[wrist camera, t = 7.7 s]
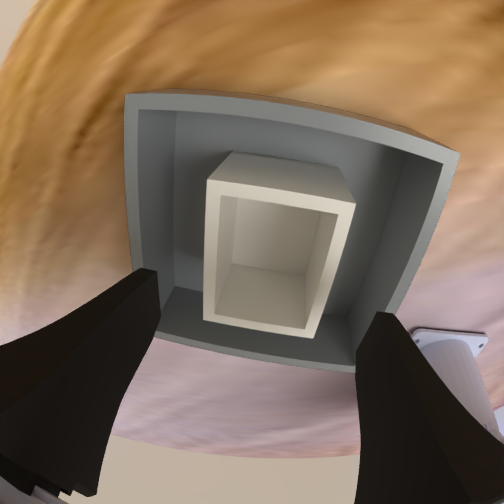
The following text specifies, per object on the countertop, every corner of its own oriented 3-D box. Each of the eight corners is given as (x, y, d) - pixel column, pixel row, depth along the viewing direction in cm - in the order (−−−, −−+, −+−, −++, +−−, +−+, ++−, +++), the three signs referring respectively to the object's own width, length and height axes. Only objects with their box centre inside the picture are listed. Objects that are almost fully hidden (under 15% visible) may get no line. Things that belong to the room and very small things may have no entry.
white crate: (311, 279, 17) (313, 338, 13) (224, 264, 17) (203, 319, 13) (339, 167, 13) (356, 203, 9) (233, 150, 14) (207, 179, 10)
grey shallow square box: (352, 318, 19) (360, 373, 15) (169, 285, 19) (142, 334, 15) (417, 131, 12) (460, 153, 8) (171, 88, 13) (125, 93, 9)
